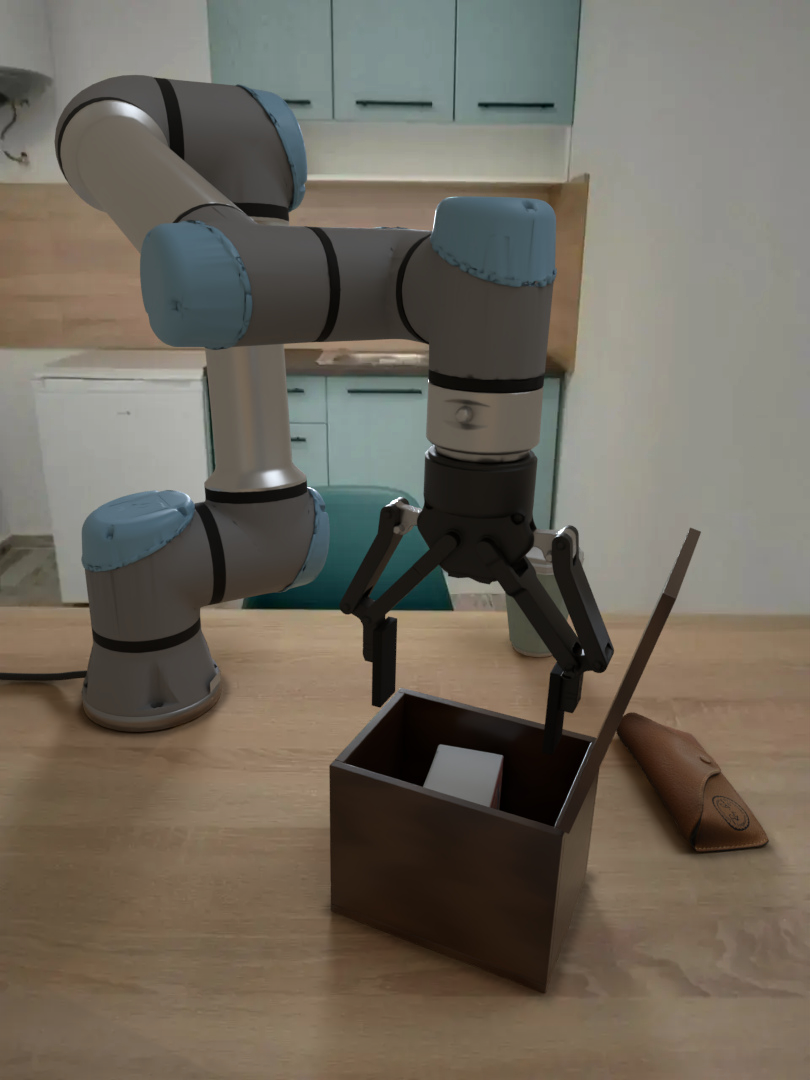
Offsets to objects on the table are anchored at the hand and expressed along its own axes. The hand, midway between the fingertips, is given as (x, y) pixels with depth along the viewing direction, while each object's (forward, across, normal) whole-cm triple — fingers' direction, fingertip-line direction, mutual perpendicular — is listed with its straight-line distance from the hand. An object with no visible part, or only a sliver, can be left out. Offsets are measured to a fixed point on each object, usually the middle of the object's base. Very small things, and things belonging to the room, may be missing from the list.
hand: (464, 720), depth 63 cm
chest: (+16, +1, 0) cm, 16 cm away
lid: (-7, +11, 0) cm, 13 cm away
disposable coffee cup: (+17, -6, +45) cm, 48 cm away
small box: (+16, 0, 0) cm, 16 cm away
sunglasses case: (+16, +16, +23) cm, 32 cm away
